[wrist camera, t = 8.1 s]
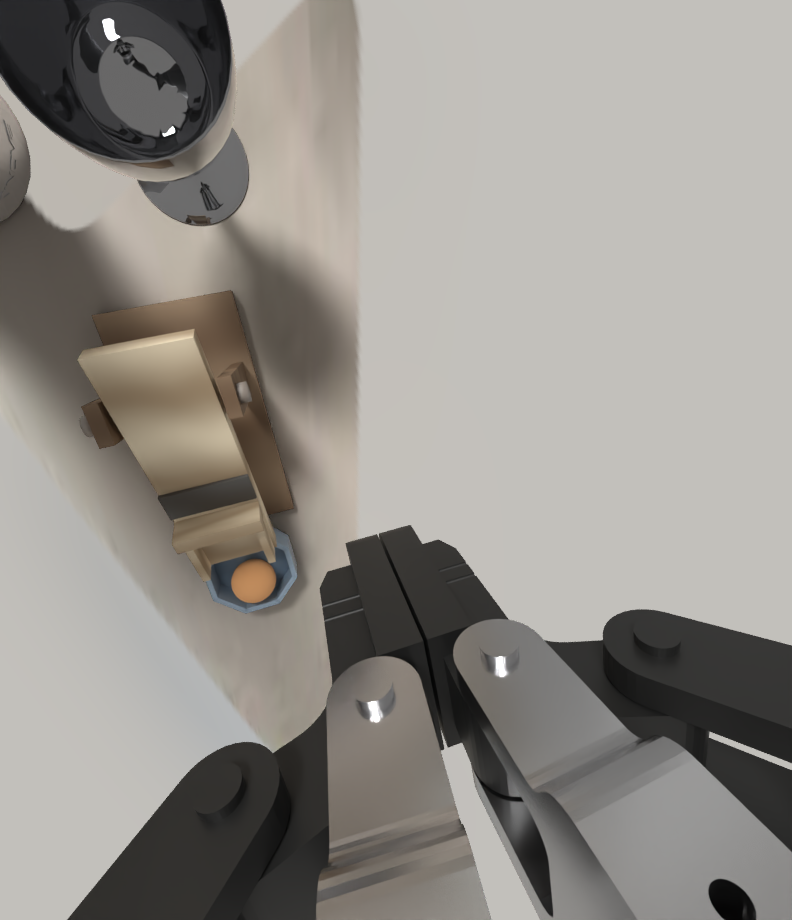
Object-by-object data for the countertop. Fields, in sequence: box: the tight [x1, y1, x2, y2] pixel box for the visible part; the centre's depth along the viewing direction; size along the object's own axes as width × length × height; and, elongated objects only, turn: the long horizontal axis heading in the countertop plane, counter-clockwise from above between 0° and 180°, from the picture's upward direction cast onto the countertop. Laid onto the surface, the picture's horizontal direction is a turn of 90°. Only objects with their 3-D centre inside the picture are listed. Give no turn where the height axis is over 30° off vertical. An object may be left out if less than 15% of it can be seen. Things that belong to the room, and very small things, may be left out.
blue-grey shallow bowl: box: [206, 526, 297, 613], centre depth 37 cm, size 7×7×2 cm
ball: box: [231, 559, 276, 603], centre depth 36 cm, size 4×4×4 cm
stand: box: [80, 291, 293, 515], centre depth 30 cm, size 17×9×9 cm, turn 11°
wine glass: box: [0, 0, 249, 225], centre depth 22 cm, size 8×8×15 cm
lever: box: [77, 329, 277, 582], centre depth 28 cm, size 17×6×3 cm, turn 10°
